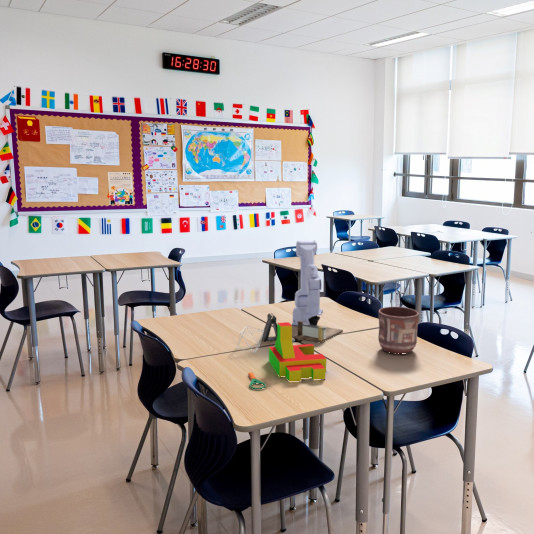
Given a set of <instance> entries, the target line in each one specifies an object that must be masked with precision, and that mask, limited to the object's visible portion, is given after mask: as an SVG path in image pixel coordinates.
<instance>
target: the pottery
mask: <svg viewBox="0 0 534 534" xmlns="http://www.w3.org/2000/svg"><path fill="white" fill-rule="evenodd" d="M377 315H378V339H377V340H378V344H379V346H380V348H381V349H382V350H383V351H384V350H385V351H386V353H387V352H390V353H396V354H398V353H399V354H402V353H408V354H410V353H411V352H412V351H413V350H414V349H415V347H416V345H417V343H418V342H417V340H418V327H419V326H418V325H419V320H420V319H419V318H420V313H419V312H418V311H417V310H416V309H413V308H409V307H405V306H387V307H386V306H385V307H381V308H380V309H378V314H377ZM385 351H384V352H385ZM409 352H410V353H409ZM390 353H389V354H390Z"/></svg>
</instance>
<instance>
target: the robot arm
mask: <svg viewBox="0 0 534 534" xmlns="http://www.w3.org/2000/svg"><path fill="white" fill-rule="evenodd" d="M295 247H296V248H295V253H296V256H297V257H298V258H299V261H300V289H298V290H297V291H296V292H295V293H294V305H295V307H294V308H293V309H292V323H291V325H292V326H297V327H298V321H303V324H304V323H306V324H311V325H316V326H317V325H318V322H319V321H320V320H321V317H320V316H322V314H324V312H323V311H324V310H323V308H322V309H321V308H320V306H321V305H320V302H321V297H320V296H321V290H322V279H321V276H320V275H319V271H318V267H317V266H316V265H315V255H316V253H317V251H318V243H317V241H316V240H297V241H296V244H295Z"/></svg>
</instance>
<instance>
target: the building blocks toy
mask: <svg viewBox="0 0 534 534" xmlns="http://www.w3.org/2000/svg"><path fill="white" fill-rule="evenodd" d="M276 323H277V340H276V341H275V344H274V346H269V347H268V362H269V364H270V363H271V364H270V365H271V367H272V366H273V367H272V368H273V370H274V369H275V370H274V371H275V372H277V373H276V375H277V376H278V375H279V376H278V377H279V378H280V377H281V376H286V377H285V378H287V379H288V380H289V381H300V380H301V381H302V379H301V378H309V377H312V379H313V380H314V379H325V380H326V374H327V357H325V355H324V354H322V353H315V345H314V344H313V343H308V344H306V343H305V344H293V325H292V323H290V322H289V321H287V322H286V321H285V322H276ZM325 373H326V374H325ZM287 379H286V380H287ZM312 379H311V380H312ZM288 380H287V381H288ZM313 380H312V381H313Z"/></svg>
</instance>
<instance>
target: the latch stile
mask: <svg viewBox="0 0 534 534" xmlns="http://www.w3.org/2000/svg"><path fill="white" fill-rule="evenodd" d="M318 326H319V327H318V340H320V341H322V335H323V327H321V326H322V325H318Z"/></svg>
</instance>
